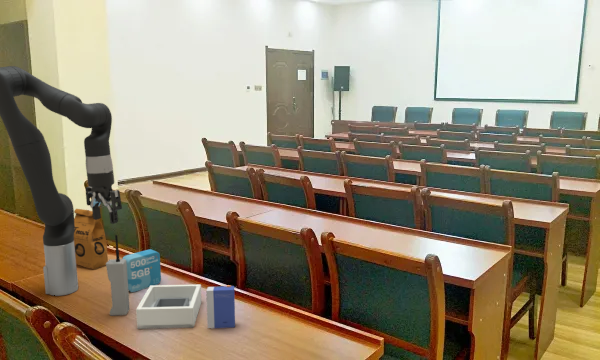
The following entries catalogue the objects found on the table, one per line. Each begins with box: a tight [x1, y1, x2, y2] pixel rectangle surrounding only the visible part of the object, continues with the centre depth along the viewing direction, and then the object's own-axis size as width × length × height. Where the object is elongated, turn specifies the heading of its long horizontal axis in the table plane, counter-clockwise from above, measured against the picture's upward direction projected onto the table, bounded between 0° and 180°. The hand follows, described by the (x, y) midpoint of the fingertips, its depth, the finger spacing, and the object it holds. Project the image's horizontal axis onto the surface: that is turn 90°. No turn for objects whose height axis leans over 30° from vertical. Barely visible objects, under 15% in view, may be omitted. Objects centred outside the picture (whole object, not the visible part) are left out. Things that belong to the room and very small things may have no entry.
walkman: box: [205, 284, 236, 329], centre depth 142 cm, size 8×3×12 cm, turn 96°
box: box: [135, 283, 202, 330], centre depth 149 cm, size 16×17×6 cm
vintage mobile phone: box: [106, 234, 131, 317], centre depth 148 cm, size 4×5×25 cm
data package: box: [121, 248, 162, 293], centre depth 169 cm, size 12×4×12 cm, turn 137°
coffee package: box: [74, 208, 109, 270], centre depth 188 cm, size 10×12×22 cm
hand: (105, 221), depth 152 cm, fingers open, 8 cm apart
